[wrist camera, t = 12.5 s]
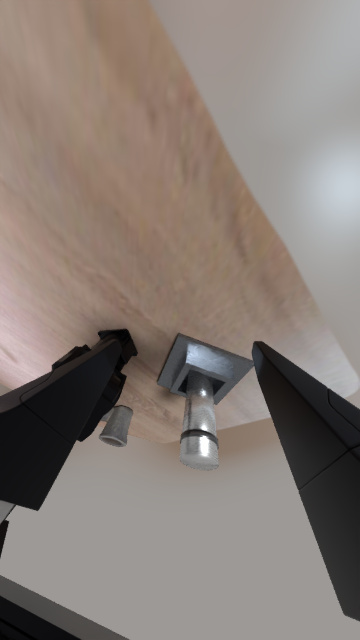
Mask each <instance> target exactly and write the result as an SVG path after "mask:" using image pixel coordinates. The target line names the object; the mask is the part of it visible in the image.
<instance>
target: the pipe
mask: <svg viewBox="0 0 360 640" xmlns="http://www.w3.org/2000/svg"><path fill="white" fill-rule="evenodd" d="M132 415H133V412H132V410H131V409H130V408H128V407H125V406H119V407H113V408H112V409H111V410H110V411H109V412H108V413H107V414H106V415H104V416H103V417H102V419H101V420H100V421H106V422H107V424H106V426H105V428H104V429H103V431H102V433H101V434H100V436H99V439H100V440H101V441H103V442H105V443H107V444H110V445H112V446H116V447H123V446H126V444H127V434H128V429H129V425H130V421H131V418H132Z"/></svg>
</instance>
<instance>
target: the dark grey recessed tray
mask: <svg viewBox="0 0 360 640" xmlns="http://www.w3.org/2000/svg"><path fill="white" fill-rule="evenodd" d="M253 366H254V362H253V361H252V360H249V359H247V358H244V357H241V356H239V355H236V354H233V353H231V352H228V351H225V350H223V349H220V348H217V347H215V346H212V345H209V344H207V343H204V342H201V341H199V340H196V339H193V338H191V337H188V336H185V335H183V334H180V333H179V334H178V337H177V339H176V341H175V343H174V346H173V348H172V350H171V352H170V355H169V357H168V359H167V362H166V364H165V366H164V368H163V371H162V373H161V375H160V377H159V380H158V383H157V384H158V385H161V386H164V387H167V388H169V389H170V392H172V393H175V394H178V395H180V396H183V397H186V391H187V382H188V373H189V371H190V370H194V371H196V372H199V373H202V374H205V375H207V376H210V377H212V386H213V399H214V404H215V405H217V404H218V403H219V402H220V401H221V400H222V399H223V398H224V397H225V396H226V395H227V393H228V392H229V391H230V390H231V389H232V388H233V387H234V386H235V385H236V384H237V383H238V382H239V381H240V380H241V379H242V378H243V377H244V376H245V375H246V374H247V373H248V372H249V371H250V369H251V368H252V367H253Z"/></svg>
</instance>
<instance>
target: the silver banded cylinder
mask: <svg viewBox="0 0 360 640" xmlns="http://www.w3.org/2000/svg"><path fill="white" fill-rule="evenodd" d="M180 444H181V449H180V450H181V451H180V461H181V462H182V463H183V464H184V465H186V466H188V467H191V468H194V469H199V470H213V469H216V468H217V467H218V466H219V462H218V439H217V437H216V424H215V411H214V399H213V386H212V377H210V376H207V375H205V374H202V373H199V372H196V371H194V370H190V371H189V373H188V382H187V391H186V401H185V411H184V420H183V430H182V434H181V439H180Z"/></svg>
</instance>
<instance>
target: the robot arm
mask: <svg viewBox="0 0 360 640" xmlns="http://www.w3.org/2000/svg"><path fill="white" fill-rule="evenodd" d="M125 331H126V332H125ZM98 335H99V337H100V339H101V340H100V341H99V342H98V343H97V344H96V345H95V346H94V347H93V348H92V349H90V348H89V347H88V346H87V345H86V344H85V345H84V346H83V347H78V346H76V347H74V348H73V349H72V350H71V351H70V352H68V353H67V354H66V355H64V356H63V357H62V358H60V359H59V360H58V361H56V362H55V363H54V364H53V365H52V371H51V372H49V373H47V374H45V375H43V376H41V377H39V378H37V379H35V380H33V381H31V382H29V383H27V384H25V385H23V386H21V387H19V388H17V389H15V390H12V391H10V392H8V393H6V394H4V395H2V396H0V557H1V553H2V548H3V544H4V540H5V536H6V532H7V528H8V524H9V521H7V520H5V519H6V518H7V516H8V515H9V514H10V512H11V511H12V510H13V508H14V507H15V506H16V505H19V506H22V507H26V508H29V509H33V510H36V511H38V510H39V509H40V507H41V505H42V504H43V502H44V500H45V498H46V496H47V495H48V492H49V491H50V489H51V487H52V485H53V483H54V481H55V479H56V478H57V476H58V474H59V472H60V470H61V468H62V466H63V465H64V463H65V461H66V459H67V457H68V455H69V453H70V452H71V450H72V448H73V445H74V444H75V442H76V440H78V441H80V442H82V441H83V440H85V439H86V438H87V437H88V436H90V435H91V434H92V432H93V431H94V429H95V428H96V426H97V425H98V423H99V422H100V420H101V419H102V417H103V416H104V415H106V414H107V413H108V412H109V411H110V410H111V409H112V408H113V407H114V405H115V404H116V402H117V401H118V399H119V397H120V395H121V392H122V389H123V386H124V383H125V380H126V377H127V376H126V375H124V374H122V373H121V372H120V371H121V370H122V368H123V367H124V365H125V364H127V363H128V361H129V360H130V358H131V356H137V354H138V352H137V350H136V347H135V345H134V342H133V340H132V338H131V336H130V333H129V331H128V330H127V329H117V330H106V331H99V332H98ZM252 357H253V362H254V366H255V370H256V374H257V378H258V382H259V385H260V387H261V390H262V393H263V395H264V398H265V401H266V404H267V406H268V409H269V412H270V415H271V417H272V420H273V423H274V426H275V428H276V431H277V433H278V436H279V439H280V442H281V445H282V447H283V450H284V453H285V456H286V458H287V461H288V464H289V467H290V469H291V472H292V475H293V477H294V480H295V483H296V486H297V488H298V490H299V494H300V497H301V500H302V502H303V505H304V507H305V510H306V513H307V516H308V519H309V522H310V524H311V526H312V530H313V532H314V535H315V538H316V541H317V543H318V546H319V549H320V552H321V554H322V557H323V560H324V562H325V565H326V568H327V571H328V573H329V576H330V579H331V581H332V584H333V587H334V590H335V592H336V595H337V598H338V601H339V603H340V606H341V608H342V611H343V613H344V615H345V616H348V617H350V618H353V619H355V620H358V621H360V409H359V408H357V407H355V406H354V405H353V404H351V403H350V402H348V401H347V400H345V399H344V398H342V397H341V396H339V395H338V394H337V393H335V392H334V391H332V390H331V389H329V388H328V389H327V387H326V386H325V385H324V384H322V383H321V382H319V381H318V380H316V379H315V378H314V377H312V376H311V375H309V374H308V373H307V372H305V371H304V370H302V369H301V368H299V367H298V366H297V365H295V364H294V363H292V362H291V361H289V360H288V359H287V358H285V357H284V356H282V355H281V354H279V353H278V352H277V351H275V350H274V349H272V348H271V347H269V346H268V345H267V344H265V343H264V342H262V341H255V342H254V343H253V349H252ZM0 640H129V639H127V638H125V637H123V636H121V635H119V634H117V633H115V632H113V631H111V630H109V629H107V628H105V627H103V626H101V625H99V624H97V623H95V622H93V621H91V620H89V619H87V618H85V617H83V616H81V615H79V614H77V613H75V612H73V611H71V610H69V609H67V608H65V607H63V606H61V605H59V604H57V603H55V602H53V601H51V600H49V599H47V598H45V597H43V596H41V595H39V594H37V593H35V592H33V591H31V590H29V589H27V588H25V587H23V586H21V585H19V584H17V583H15V582H13V581H11V580H9V579H7V578H5V577H3V576H1V575H0Z"/></svg>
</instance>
